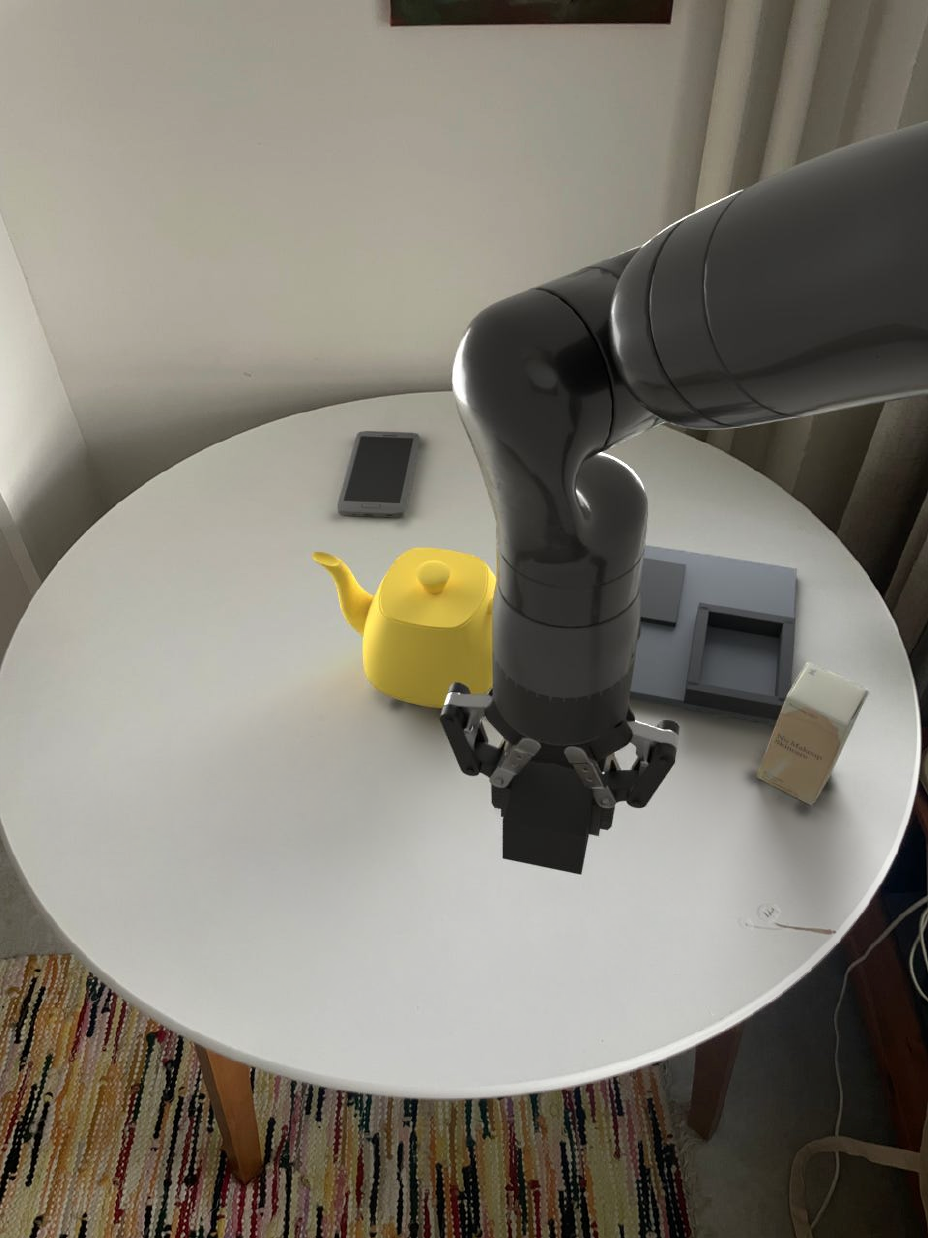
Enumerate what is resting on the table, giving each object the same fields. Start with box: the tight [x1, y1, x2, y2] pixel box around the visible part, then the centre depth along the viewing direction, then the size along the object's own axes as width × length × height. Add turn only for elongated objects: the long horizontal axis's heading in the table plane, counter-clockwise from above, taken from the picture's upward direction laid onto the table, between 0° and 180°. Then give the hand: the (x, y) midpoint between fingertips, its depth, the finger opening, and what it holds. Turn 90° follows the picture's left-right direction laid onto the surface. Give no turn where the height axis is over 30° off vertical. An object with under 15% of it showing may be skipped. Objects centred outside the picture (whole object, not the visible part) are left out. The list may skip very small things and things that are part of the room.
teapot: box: [311, 546, 496, 709], centre depth 89 cm, size 13×20×12 cm
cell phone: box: [337, 430, 421, 518], centre depth 112 cm, size 7×14×1 cm, turn 175°
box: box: [756, 661, 870, 806], centre depth 81 cm, size 5×4×11 cm
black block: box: [502, 761, 593, 876], centre depth 65 cm, size 5×7×4 cm
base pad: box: [629, 544, 798, 726], centre depth 95 cm, size 17×19×3 cm
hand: (552, 814), depth 66 cm, fingers closed on black block, 5 cm apart
